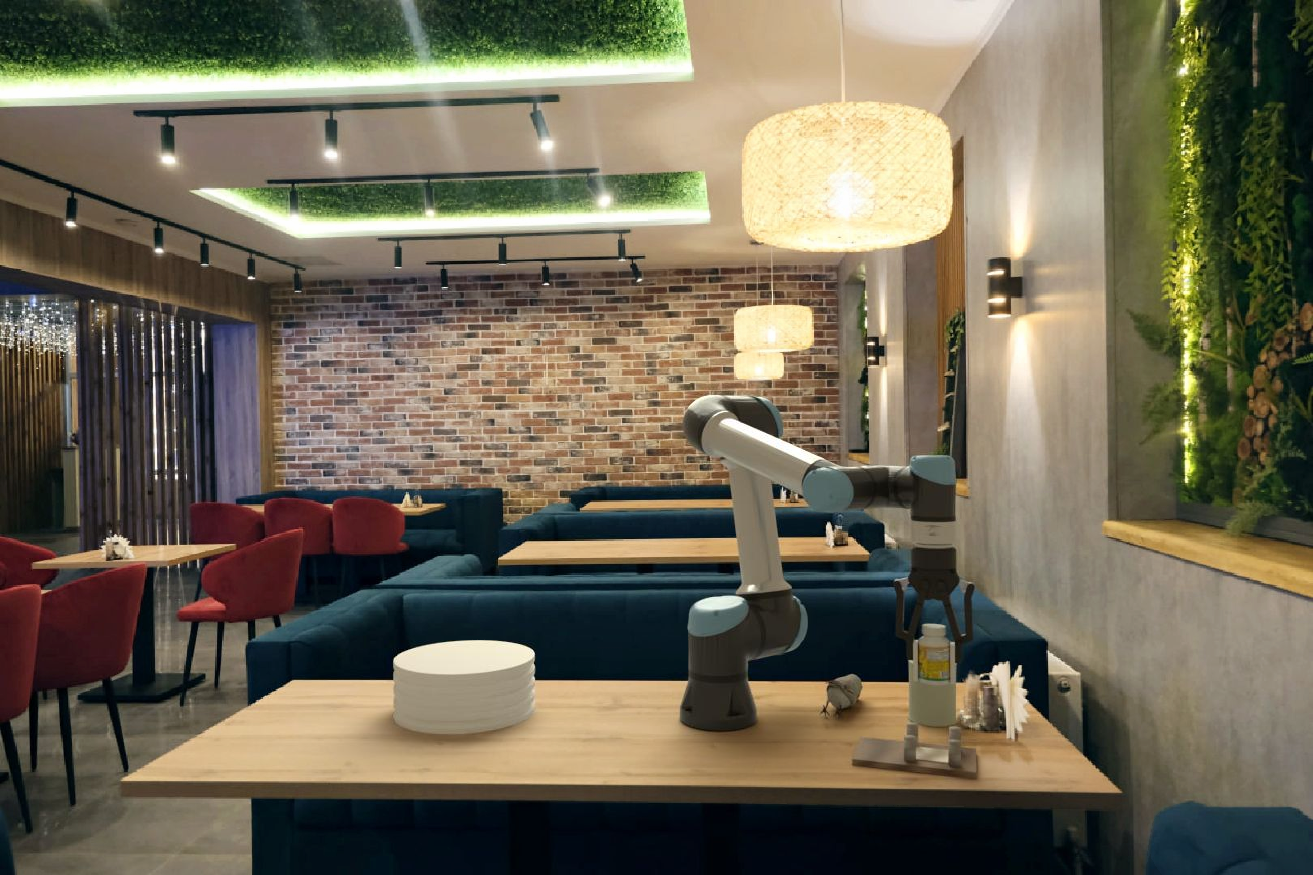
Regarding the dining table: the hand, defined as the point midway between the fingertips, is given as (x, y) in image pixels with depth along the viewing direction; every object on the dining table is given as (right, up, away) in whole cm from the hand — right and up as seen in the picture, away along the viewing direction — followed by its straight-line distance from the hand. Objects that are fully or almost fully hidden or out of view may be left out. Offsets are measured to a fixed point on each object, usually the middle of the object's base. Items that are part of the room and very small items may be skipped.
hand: (934, 680), depth 161 cm
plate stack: (-86, -14, +29) cm, 92 cm away
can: (+7, -14, +23) cm, 28 cm away
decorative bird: (-9, -14, +31) cm, 35 cm away
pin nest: (-3, -14, +1) cm, 14 cm away
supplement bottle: (0, 0, 0) cm, 0 cm away
